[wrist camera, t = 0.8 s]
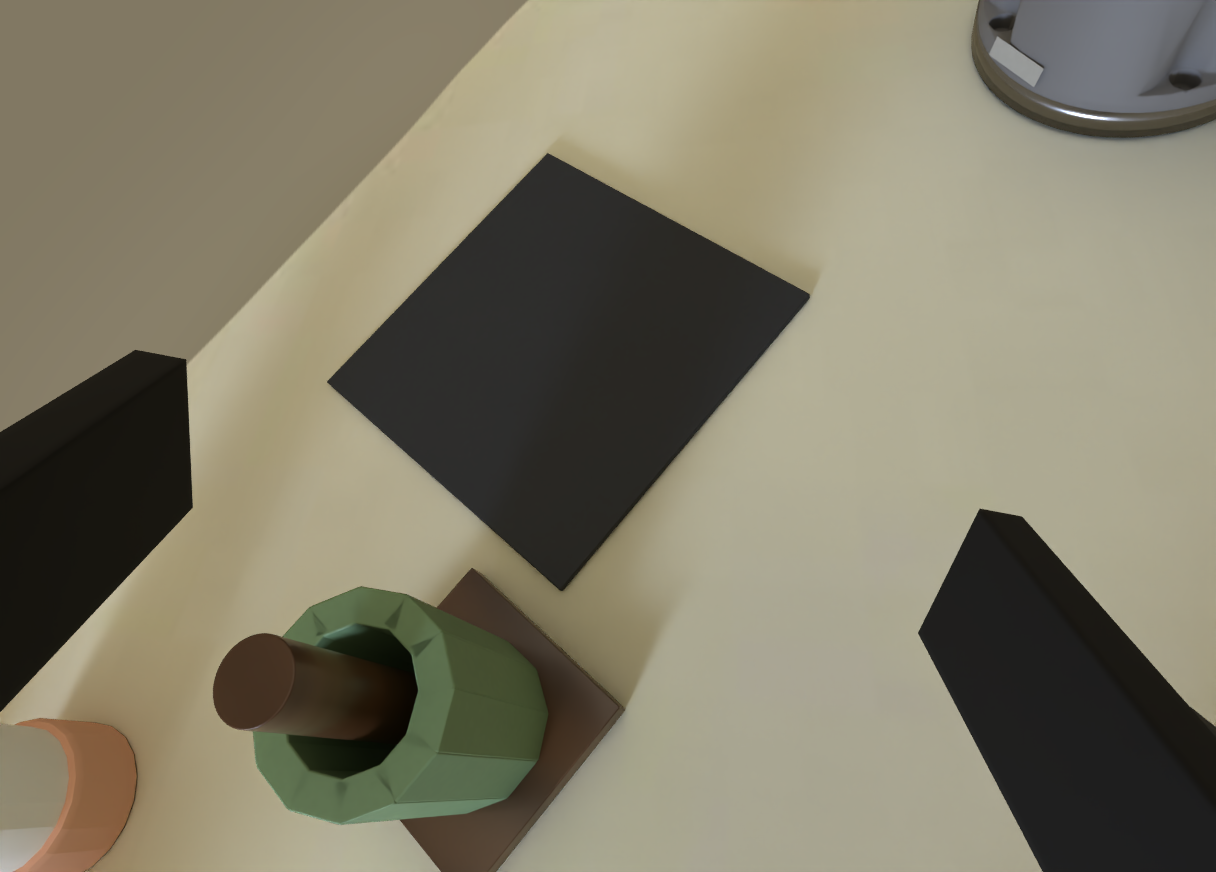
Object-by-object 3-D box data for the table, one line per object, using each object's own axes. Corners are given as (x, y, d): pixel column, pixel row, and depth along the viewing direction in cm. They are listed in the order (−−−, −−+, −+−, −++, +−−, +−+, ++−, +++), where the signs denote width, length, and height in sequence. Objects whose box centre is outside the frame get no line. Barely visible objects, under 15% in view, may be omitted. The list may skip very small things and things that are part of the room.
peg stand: (481, 573, 39) (284, 449, 24) (626, 709, 34) (491, 656, 20) (341, 732, 37) (43, 700, 23) (475, 897, 33) (210, 986, 18)
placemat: (549, 157, 49) (547, 152, 49) (810, 298, 41) (809, 293, 40) (330, 384, 46) (326, 381, 46) (562, 591, 37) (559, 589, 37)
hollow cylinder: (470, 604, 37) (362, 548, 28) (579, 710, 34) (495, 684, 25) (363, 728, 36) (214, 710, 27) (465, 850, 32) (334, 876, 24)
